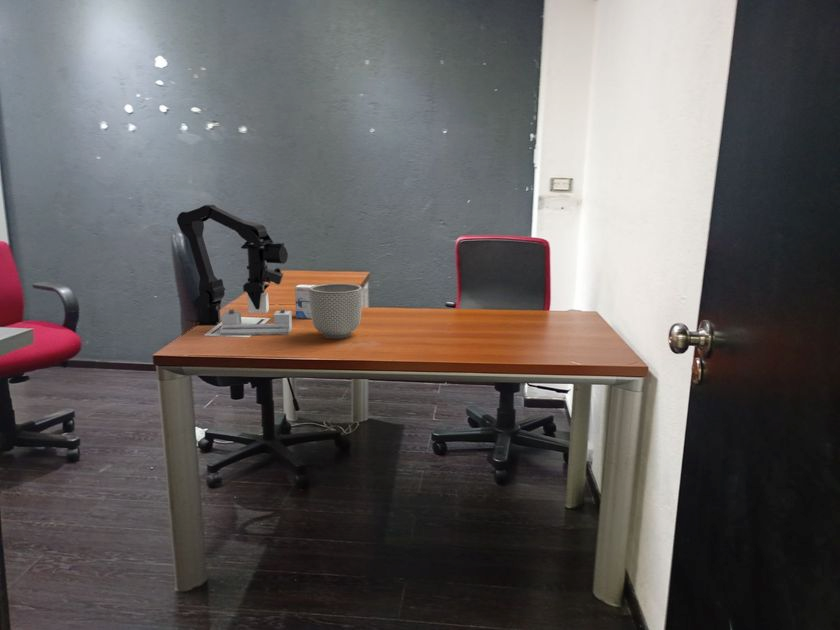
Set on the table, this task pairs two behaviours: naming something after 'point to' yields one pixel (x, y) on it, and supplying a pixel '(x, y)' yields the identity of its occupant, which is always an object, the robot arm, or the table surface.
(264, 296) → the module
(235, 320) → the block
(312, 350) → the table surface
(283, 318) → the block
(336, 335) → the planter
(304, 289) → the ink box
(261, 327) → the rail
